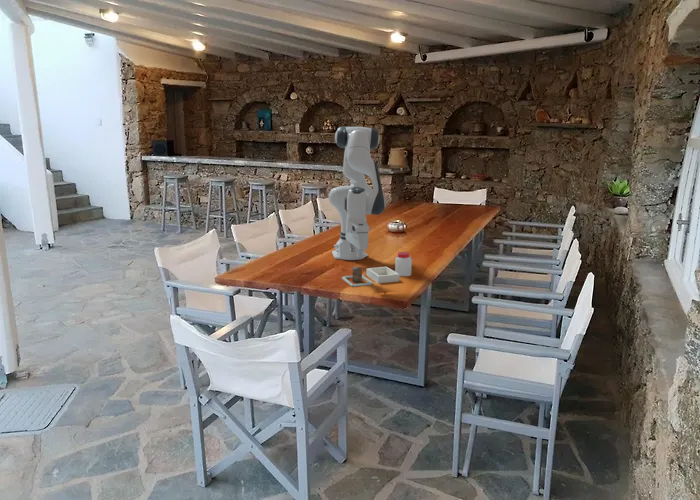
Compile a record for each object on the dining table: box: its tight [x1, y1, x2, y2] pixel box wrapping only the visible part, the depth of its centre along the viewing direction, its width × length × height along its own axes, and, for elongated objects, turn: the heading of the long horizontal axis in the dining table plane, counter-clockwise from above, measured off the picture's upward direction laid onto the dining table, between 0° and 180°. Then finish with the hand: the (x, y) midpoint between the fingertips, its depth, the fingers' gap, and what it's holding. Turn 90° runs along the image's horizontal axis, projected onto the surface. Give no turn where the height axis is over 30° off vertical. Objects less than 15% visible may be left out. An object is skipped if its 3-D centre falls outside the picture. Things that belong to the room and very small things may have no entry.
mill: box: [351, 266, 363, 284], centre depth 243 cm, size 4×4×6 cm
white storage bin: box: [365, 266, 400, 284], centre depth 248 cm, size 14×10×4 cm
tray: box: [341, 274, 374, 288], centre depth 244 cm, size 14×10×2 cm
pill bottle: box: [394, 251, 413, 277], centre depth 254 cm, size 8×8×11 cm
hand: (355, 254), depth 241 cm, fingers open, 8 cm apart
